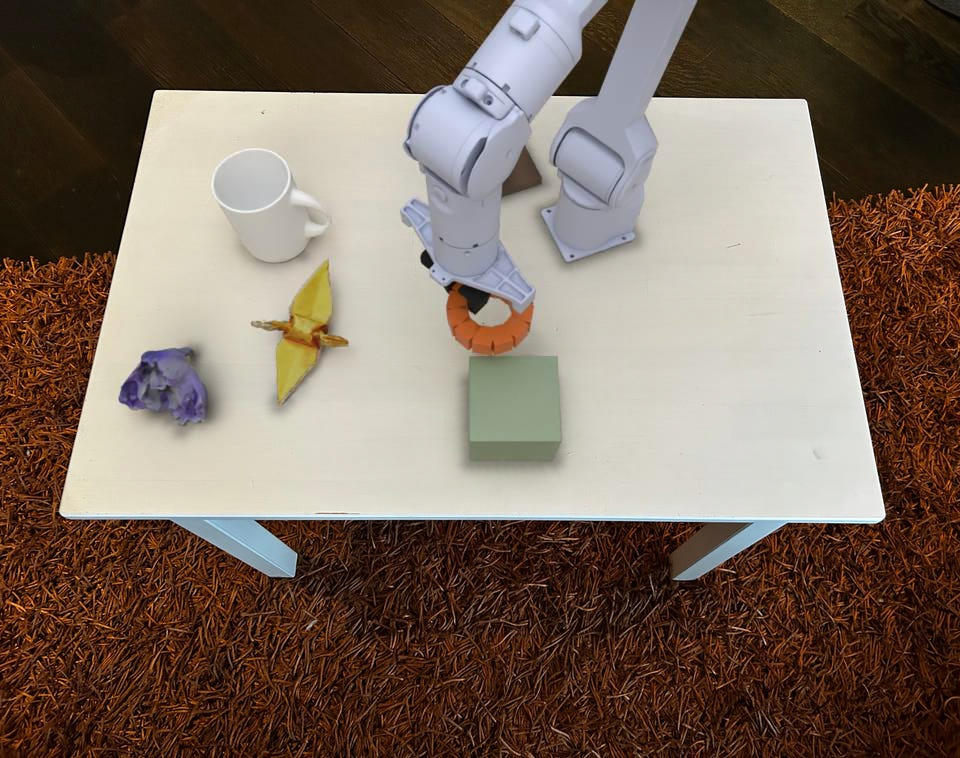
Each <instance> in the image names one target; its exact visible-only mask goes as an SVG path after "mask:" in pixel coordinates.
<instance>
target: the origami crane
mask: <svg viewBox="0 0 960 758" xmlns="http://www.w3.org/2000/svg"><path fill="white" fill-rule="evenodd" d="M330 269H331V268H330V258H329V257H328V258H327V259H325V260H324V261H322V263H321V264H320V265H319V266H318V267H317V268H316V269H315V270H314V271H313V272H312V273H311V275H310V276H309V277H308V278H307V279H305V282H304V283H303V284H302V285H301V287H300V288H299V289H298V290H297V292H296V294H294V296H293V298H292V300H291V302H290V305H289V306H288V315H289V320H285V319H284V320H280V321H279V320H276V319H273V320H268V321H267V320H266V319H262V321H261V320H255V321H254V320H252V321H251V322H250V325H251V326H252V327H254V328H257V329H258V328H259V329H260V328H261V329H263V330H264V331H267V332H274V331H277V332H281V333H282V338H281V339H280V341H279V342H278V343H277V345H276V347H275V357H276V359H275V361H276V389H277V405H278V408H281V407H282V405H283V404H284V403H285V401H286V400H287V399H288V397H289V396H290V395H291V394H292V393H293V392H294V391H295V389H296V388H297V387H298V386H299V384H300V383H302V381H303V379H304V378H305V377H306V375H307V374H308V373H309V371H312V369H314V367H315V366H316V365H317V364H318V363H319V361H320V357H321V352H322V351H323V346H324V347H326V348H327V347H328V348H334V349H335V348H343V347H344V348H345V347H349V340H348V339H347V338H345V337H343V336H341V335H336V334H328V332H329V326H330V321H331V319H332V315H333V309H334V308H333V300H332V287H331V285H332V283H331V271H330ZM263 321H264V322H263Z"/></svg>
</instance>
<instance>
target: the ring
mask: <svg viewBox="0 0 960 758" xmlns="http://www.w3.org/2000/svg"><path fill="white" fill-rule="evenodd" d="M462 285H463V284H462V283H459V282H457V283H456V284H455V285H454V286H453V287H452V291H450V293H449V294H448V297H447V301H446V305H445V311H446V313H445V314H446V320H447V323H448V327H449V330H450V333H451V335H452V337H453V338H454V340H455V341H456V342H458V343H459V344H460V345H461V346H462V347H463V348H464V349H466V350H467V351H471V353H473V354H478V355H482V356H492V353H493V356H499V355H501V354H505V353H507V352H508V353H509V352H511V351H513V348H514V349H516V348H517V347H518V346H519V345H520V344H521V343H522V342H523V341H524V340H525V339H526V338H527V337H528V335H529V334H528V333H530V330H531V327H532V326H531V325H532V320H533V315H534V310H535V309H534V308H535V305H534V301H533V302H532V303H531V304H530V305H529V306H528V307H527V308H526V309H525V310H524V311H523V312H522V313H521V314H519V313H518V312H517V311H515V310H514V309H513V308H512V304H513V303H512V302H511V301H509V300H507V299H505V298H502V297H499V296H497V295H494V294H491V296H490V298H492V299H497V300H500V301H501V302H502V303H504V304H505V305H506V306H508V308H509V311H510V315H509V317H508V318H507V319H506V320H505V321H504V322H502V323H500V324H497V325H494V326H489V325H483V324H479V323H477V321H475V320H474V319H473V318H472V317H471V315H470V311H469V309H468V306H467V300H466V299H465V298H464V297H463V296H462V295H460V294H459V293H458V292H457V290H458V289H459V288H460V287H461V286H462Z"/></svg>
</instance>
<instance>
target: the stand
mask: <svg viewBox="0 0 960 758" xmlns="http://www.w3.org/2000/svg"><path fill="white" fill-rule="evenodd" d="M542 181H543V176H542V175H541V173H540V171H539V169H538V167H537V166H536V164H535V162H534V160H533V157H532V156H531V153H530V152H529V151H528V148H527V147H526V144H525V145H524V147H523V149H522V151H521V154H520V156H519V159H518V161H517V163H516V165H515V167H514V168H513V170H512V172H511V173H510V175H509V176H508V177H507V179H506V180H505V181H504V182H503V183H502V193H501V198H502V197H506V196H509V195H511V194H515V193H517V192H520V191H523V190H527V189H530V188H532V187H536V186H539V185H541V184H542Z"/></svg>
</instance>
